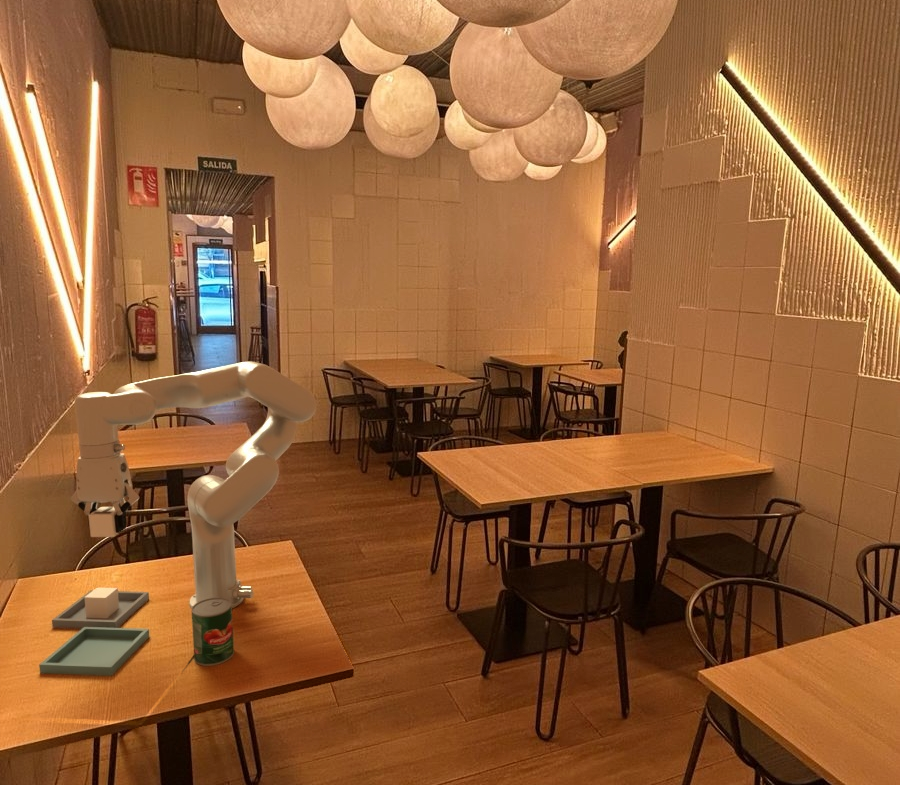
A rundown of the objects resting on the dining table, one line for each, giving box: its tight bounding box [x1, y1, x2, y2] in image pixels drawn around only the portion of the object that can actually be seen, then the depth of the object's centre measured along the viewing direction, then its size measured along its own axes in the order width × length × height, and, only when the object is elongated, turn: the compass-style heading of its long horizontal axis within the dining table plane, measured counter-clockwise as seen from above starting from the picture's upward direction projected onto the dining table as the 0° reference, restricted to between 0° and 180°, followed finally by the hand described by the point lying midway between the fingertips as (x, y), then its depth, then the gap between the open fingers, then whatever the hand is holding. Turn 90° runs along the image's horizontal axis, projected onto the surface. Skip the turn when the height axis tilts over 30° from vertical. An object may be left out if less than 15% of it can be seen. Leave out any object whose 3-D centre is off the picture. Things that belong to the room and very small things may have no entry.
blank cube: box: [84, 587, 119, 618], centre depth 152 cm, size 5×5×5 cm
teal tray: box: [39, 627, 150, 677], centre depth 135 cm, size 15×15×2 cm
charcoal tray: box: [51, 589, 150, 630], centre depth 152 cm, size 15×15×2 cm
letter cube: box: [87, 506, 119, 538], centre depth 142 cm, size 5×5×5 cm
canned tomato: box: [190, 597, 235, 667], centre depth 135 cm, size 8×8×11 cm
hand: (108, 529), depth 142 cm, fingers closed on letter cube, 4 cm apart
